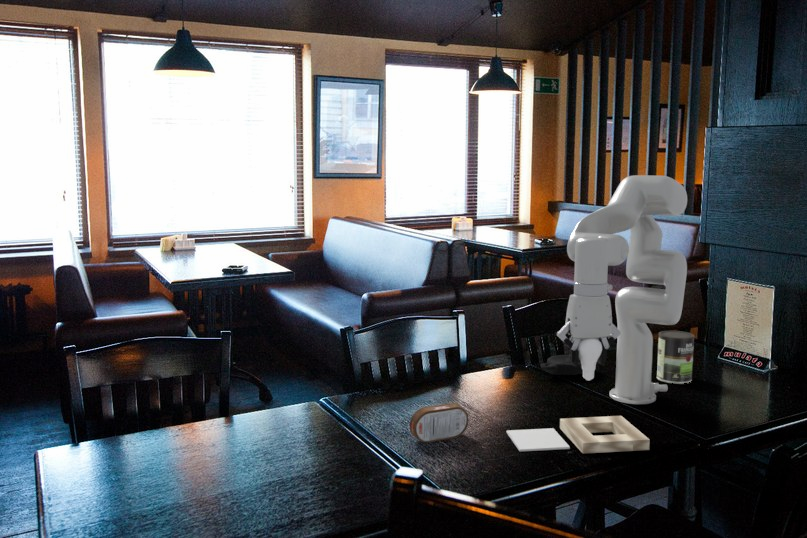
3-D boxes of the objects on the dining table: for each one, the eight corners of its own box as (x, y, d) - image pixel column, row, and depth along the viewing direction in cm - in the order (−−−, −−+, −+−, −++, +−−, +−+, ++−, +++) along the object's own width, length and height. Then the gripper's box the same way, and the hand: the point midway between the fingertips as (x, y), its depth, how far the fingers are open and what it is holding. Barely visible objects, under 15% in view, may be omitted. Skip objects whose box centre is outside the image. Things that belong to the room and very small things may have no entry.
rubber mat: (553, 430, 183) (553, 428, 183) (569, 448, 171) (569, 446, 171) (506, 432, 182) (506, 430, 181) (519, 451, 170) (519, 449, 170)
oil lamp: (525, 373, 231) (525, 358, 230) (569, 363, 242) (570, 348, 241) (559, 385, 219) (560, 369, 218) (604, 374, 230) (605, 359, 229)
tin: (464, 432, 182) (464, 399, 181) (470, 436, 179) (470, 403, 178) (408, 442, 176) (408, 408, 175) (414, 446, 173) (414, 412, 172)
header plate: (620, 425, 186) (621, 415, 186) (649, 449, 170) (649, 439, 170) (559, 428, 184) (560, 418, 184) (582, 453, 168) (583, 443, 168)
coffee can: (699, 381, 222) (702, 335, 220) (675, 386, 217) (677, 339, 215) (673, 372, 231) (675, 328, 229) (649, 377, 226) (651, 332, 224)
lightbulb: (599, 376, 177) (599, 332, 176) (603, 384, 171) (604, 338, 170) (573, 376, 178) (573, 332, 176) (577, 384, 172) (577, 338, 170)
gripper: (618, 286, 176) (615, 359, 179) (549, 288, 174) (547, 362, 177) (632, 291, 169) (629, 367, 172) (560, 293, 167) (558, 370, 169)
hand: (587, 364), depth 174 cm, fingers closed on lightbulb, 6 cm apart
